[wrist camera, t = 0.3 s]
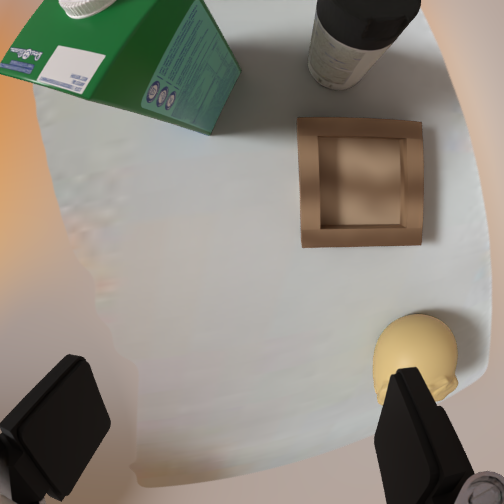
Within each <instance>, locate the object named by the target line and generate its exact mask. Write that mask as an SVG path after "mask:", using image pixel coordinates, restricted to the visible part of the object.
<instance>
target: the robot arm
mask: <svg viewBox="0 0 504 504" xmlns="http://www.w3.org/2000/svg"><path fill="white" fill-rule="evenodd" d="M110 425H111V421H110V418H109V415H108V413H107V410H106V408H105V405H104V403H103V400H102V398H101V395H100V392H99V390H98V387H97V384H96V382H95V379H94V376H93V373H92V370H91V367H90V365H89V363H88V362H86V359H84V357H81V356H76V355H71V354H69V355H66V356H65V357H64V358H63V359H62V360H61V361H60V362H59V363H58V364H57V365H56V366H55V367H54V368H53V369H52V370H51V371H50V372H49V373H48V374H47V375H46V376H45V377H44V378H43V379H42V380H41V381H40V382H39V383H38V384H37V385H36V386H35V387H34V388H33V389H32V390H31V391H30V392H29V393H28V394H27V395H26V396H25V397H24V398H23V399H22V400H21V401H20V402H19V404H18V405H17V406H16V407H15V408H14V409H13V410H12V411H11V412H10V413H9V414H8V415H7V416H6V417H5V418H4V419H3V421H2V422H1V423H0V429H1V431H2V433H1V434H0V504H46V503H45V498H44V496H45V494H46V493H47V494H48V495H49V496H50V497H52V498H54V499H57V500H59V501H61V502H62V500H63V499H64V497H65V496H67V495H69V494H70V493H71V491H72V489H73V488H74V486H75V484H76V482H77V481H78V479H79V478H80V476H81V474H82V472H83V471H84V469H85V468H86V466H87V464H88V463H89V461H90V459H91V458H92V456H93V455H94V453H95V451H96V450H97V448H98V447H99V445H100V443H101V442H102V440H103V438H104V437H105V435H106V434H107V432H108V430H109V429H110ZM374 445H375V449H376V454H377V458H378V463H379V468H380V472H381V477H382V482H383V487H384V492H385V497H386V502H387V504H504V477H503V476H502V475H500V474H498V473H495V472H490V471H484V472H479V473H476V474H474V471H473V469H472V466H471V464H470V462H469V460H468V458H467V455H466V453H465V451H464V449H463V447H462V444H461V442H460V440H459V438H458V436H457V434H456V432H455V430H454V428H453V426H452V424H451V422H450V420H449V418H448V416H447V414H446V412H445V410H444V409H443V408H442V407H441V406H437V404H436V402H435V400H434V398H433V396H432V394H431V392H430V390H429V389H428V387H427V385H426V383H425V381H424V379H423V377H422V375H421V373H420V371H419V369H418V368H417V367H409V368H400V369H397V371H396V374H392V375H391V376H390V379H389V383H388V388H387V392H386V396H385V400H384V404H383V407H382V411H381V415H380V419H379V422H378V426H377V429H376V433H375V437H374Z"/></svg>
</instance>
